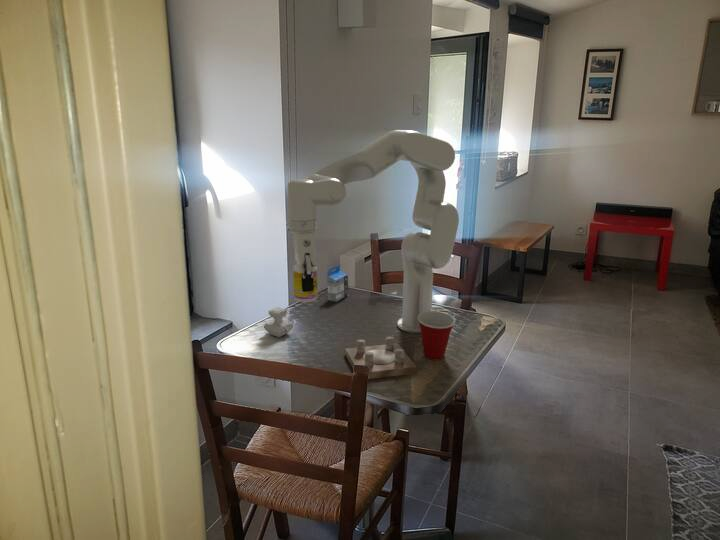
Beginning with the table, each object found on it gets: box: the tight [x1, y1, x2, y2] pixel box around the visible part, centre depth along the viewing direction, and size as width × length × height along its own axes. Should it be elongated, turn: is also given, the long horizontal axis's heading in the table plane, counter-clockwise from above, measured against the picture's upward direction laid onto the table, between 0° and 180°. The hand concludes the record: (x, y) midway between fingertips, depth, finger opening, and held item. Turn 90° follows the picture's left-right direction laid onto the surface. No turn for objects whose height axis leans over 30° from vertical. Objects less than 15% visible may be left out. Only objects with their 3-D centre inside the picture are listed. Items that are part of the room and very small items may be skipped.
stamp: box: [263, 306, 294, 338], centre depth 170 cm, size 9×7×8 cm
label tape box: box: [326, 263, 349, 303], centre depth 204 cm, size 9×4×12 cm, turn 149°
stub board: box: [344, 336, 418, 380], centre depth 150 cm, size 16×16×6 cm
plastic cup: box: [417, 310, 456, 361], centre depth 155 cm, size 11×11×12 cm
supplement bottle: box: [292, 258, 319, 303], centre depth 151 cm, size 7×7×13 cm
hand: (305, 286), depth 152 cm, fingers closed on supplement bottle, 6 cm apart
